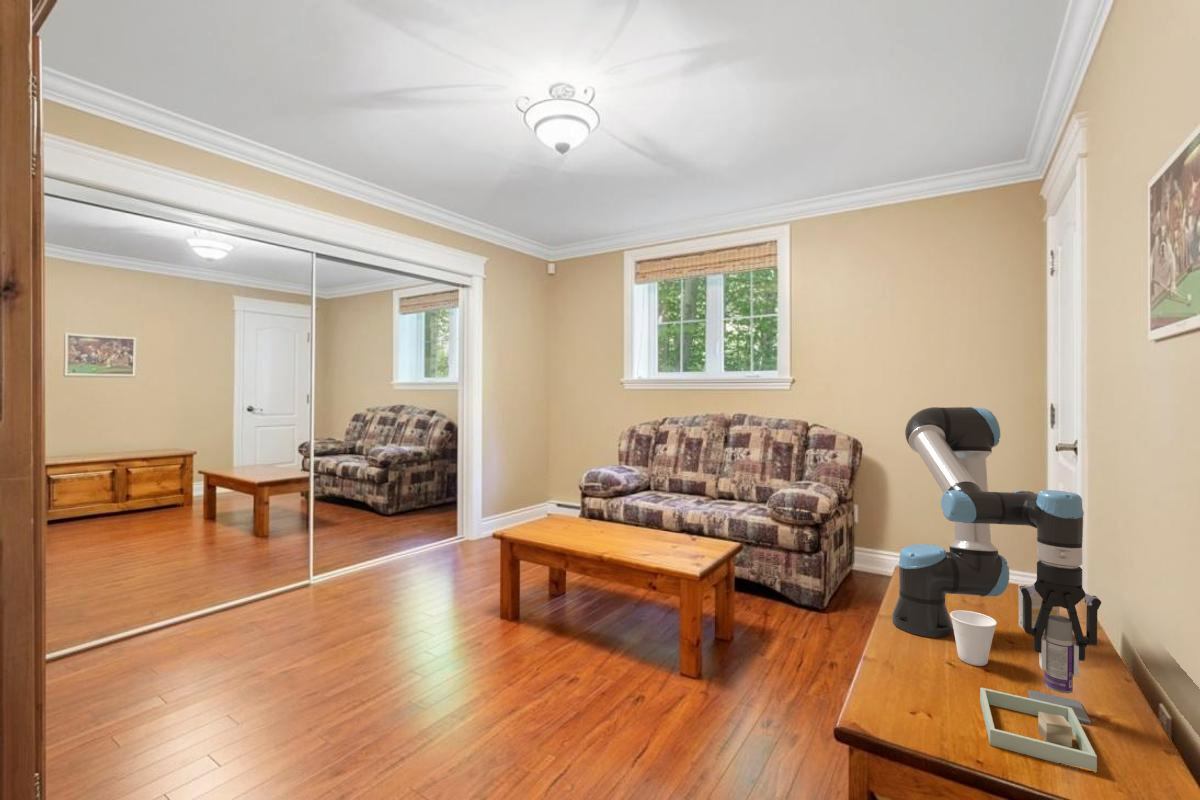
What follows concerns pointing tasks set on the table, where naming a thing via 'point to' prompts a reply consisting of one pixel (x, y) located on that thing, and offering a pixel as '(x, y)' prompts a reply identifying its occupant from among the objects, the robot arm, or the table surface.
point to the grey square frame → (1034, 746)
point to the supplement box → (1033, 607)
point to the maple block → (1055, 729)
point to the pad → (1062, 704)
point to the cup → (973, 636)
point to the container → (1059, 654)
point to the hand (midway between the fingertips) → (1058, 670)
